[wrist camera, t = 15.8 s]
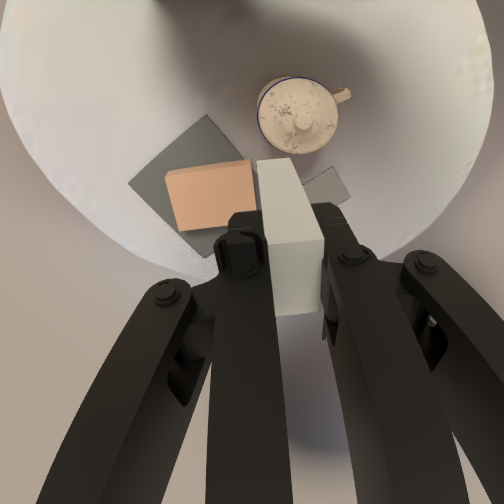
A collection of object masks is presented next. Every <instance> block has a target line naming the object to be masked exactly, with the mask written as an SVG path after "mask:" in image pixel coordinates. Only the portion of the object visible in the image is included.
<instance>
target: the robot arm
mask: <svg viewBox="0 0 504 504" xmlns="http://www.w3.org/2000/svg"><path fill="white" fill-rule="evenodd" d="M256 162H257V171H258V180H259V188H260V197H261V206H262V210H253V211H244V212H235V213H234V214H233V215H232V216H231V218H230V219H229V220H228V230H227V233H225V234H223V235H221V236H220V237H219V238H218V239H217V240H216V241H215V243H214V245H213V248H214V253H215V257H216V261H217V265H218V270H219V274H218V275H217V276H216V277H215V278H213V279H212V280H210V281H208V282H206V283H203V284H200V285H197V286H194V287H192V288H191V287H190V284H188V283H187V282H186V281H185V280H181V279H177V278H174V279H166V280H163V281H160V282H158V283H156V284H155V285H153V286H151V287H150V288H149V290H148V291H147V292H146V293H145V295H144V296H143V298H142V299H141V301H140V302H139V304H138V306H137V307H136V309H135V311H134V312H133V314H132V315H131V317H130V319H129V320H128V322H127V324H126V325H125V327H124V329H123V330H122V332H121V334H120V335H119V337H118V339H117V340H116V342H115V344H114V346H113V347H112V349H111V351H110V353H109V354H108V356H107V358H106V360H105V361H104V363H103V365H102V367H101V369H100V370H99V372H98V374H97V376H96V378H95V379H94V382H93V383H92V385H91V387H90V389H89V391H88V392H87V394H86V396H85V398H84V400H83V402H82V404H81V406H80V408H79V410H78V412H77V414H76V416H75V417H74V419H73V422H72V424H71V426H70V428H69V430H68V432H67V434H66V436H65V438H64V440H63V442H62V444H61V446H60V448H59V451H58V453H57V455H56V457H55V459H54V462H53V464H52V466H51V468H50V471H49V473H48V475H47V478H46V480H45V482H44V485H43V487H42V489H41V492H40V494H39V497H38V500H37V502H36V504H161V502H162V499H163V496H164V494H165V491H166V488H167V485H168V482H169V479H170V477H171V474H172V471H173V468H174V465H175V463H176V460H177V457H178V454H179V452H180V448H181V446H182V443H183V440H184V437H185V434H186V432H187V429H188V426H189V423H190V421H191V418H192V415H193V412H194V409H195V407H196V404H197V401H198V398H199V395H200V393H201V390H202V387H203V384H204V381H205V378H206V376H207V373H208V370H209V367H210V364H211V362H212V366H211V383H210V399H209V417H208V438H207V464H206V495H205V504H293V495H292V483H291V470H290V459H289V448H288V436H287V426H286V416H285V404H284V394H283V384H282V374H281V365H280V354H279V345H278V336H277V326H276V318H275V317H277V316H286V315H295V314H302V313H312V312H319V311H321V301H322V305H323V309H324V321H323V331H322V340H325V339H326V337H327V342H328V346H329V350H330V355H331V359H332V363H333V368H334V373H335V378H336V382H337V387H338V392H339V397H340V402H341V407H342V412H343V417H344V423H345V428H346V434H347V438H348V445H349V451H350V457H351V463H352V468H353V475H354V481H355V488H356V496H357V503H358V504H470V503H469V498H468V493H467V488H466V483H465V479H464V475H463V471H462V467H461V463H460V459H459V455H458V452H457V448H456V445H455V442H454V438H453V434H454V436H455V437H456V439H457V441H458V442H459V444H460V446H461V447H462V449H463V451H464V453H465V454H466V456H467V458H468V460H469V461H470V463H471V465H472V467H473V468H474V470H475V472H476V474H477V476H478V478H479V480H480V482H481V483H482V485H483V487H484V489H485V491H486V493H487V495H488V497H489V499H490V501H491V503H492V504H504V321H503V320H502V319H501V318H500V317H499V315H498V314H497V313H496V312H495V311H494V310H493V309H492V308H491V307H490V306H489V304H488V303H487V302H486V301H485V300H484V299H483V298H482V297H481V296H480V295H479V294H478V293H477V292H476V291H475V290H474V289H473V288H472V287H471V286H470V285H469V284H468V283H467V282H466V281H465V280H464V279H463V278H462V277H461V276H460V275H459V274H458V273H457V272H456V271H455V270H453V268H452V267H451V266H450V265H448V264H447V263H446V262H445V261H444V260H443V259H442V258H441V257H439V256H438V255H436V254H434V253H432V252H429V251H424V250H417V251H412V252H410V253H408V254H407V255H406V257H405V259H404V262H403V264H402V263H393V262H385V261H380V260H378V259H377V257H376V256H375V254H374V253H373V252H372V251H371V250H370V249H369V248H367V247H365V246H363V245H360V244H359V243H358V241H357V239H356V237H355V235H354V234H353V232H352V230H351V228H350V226H349V224H347V221H346V219H345V217H344V216H343V214H342V212H341V210H340V208H338V207H337V206H335V205H334V204H332V203H331V202H324V203H313V204H310V203H309V200H308V198H307V196H306V193H305V191H304V189H303V186H302V184H301V182H300V179H299V177H298V175H297V173H296V170H295V168H294V166H293V164H292V161H291V159H290V158H279V159H268V160H259V161H256ZM431 316H432V317H433V319H434V320H435V321H436V322H437V324H434V323H433V322H432V321H431V320H430V317H431ZM452 432H453V434H452Z"/></svg>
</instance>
